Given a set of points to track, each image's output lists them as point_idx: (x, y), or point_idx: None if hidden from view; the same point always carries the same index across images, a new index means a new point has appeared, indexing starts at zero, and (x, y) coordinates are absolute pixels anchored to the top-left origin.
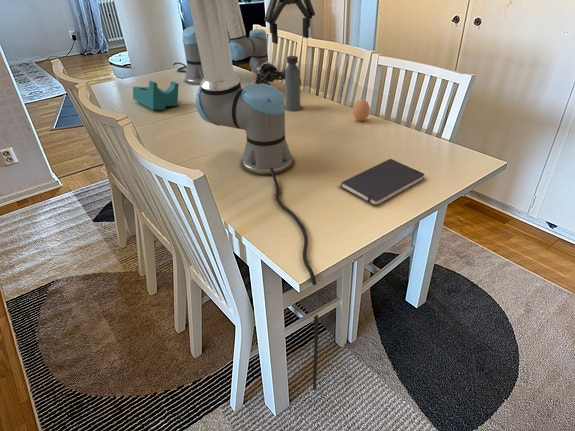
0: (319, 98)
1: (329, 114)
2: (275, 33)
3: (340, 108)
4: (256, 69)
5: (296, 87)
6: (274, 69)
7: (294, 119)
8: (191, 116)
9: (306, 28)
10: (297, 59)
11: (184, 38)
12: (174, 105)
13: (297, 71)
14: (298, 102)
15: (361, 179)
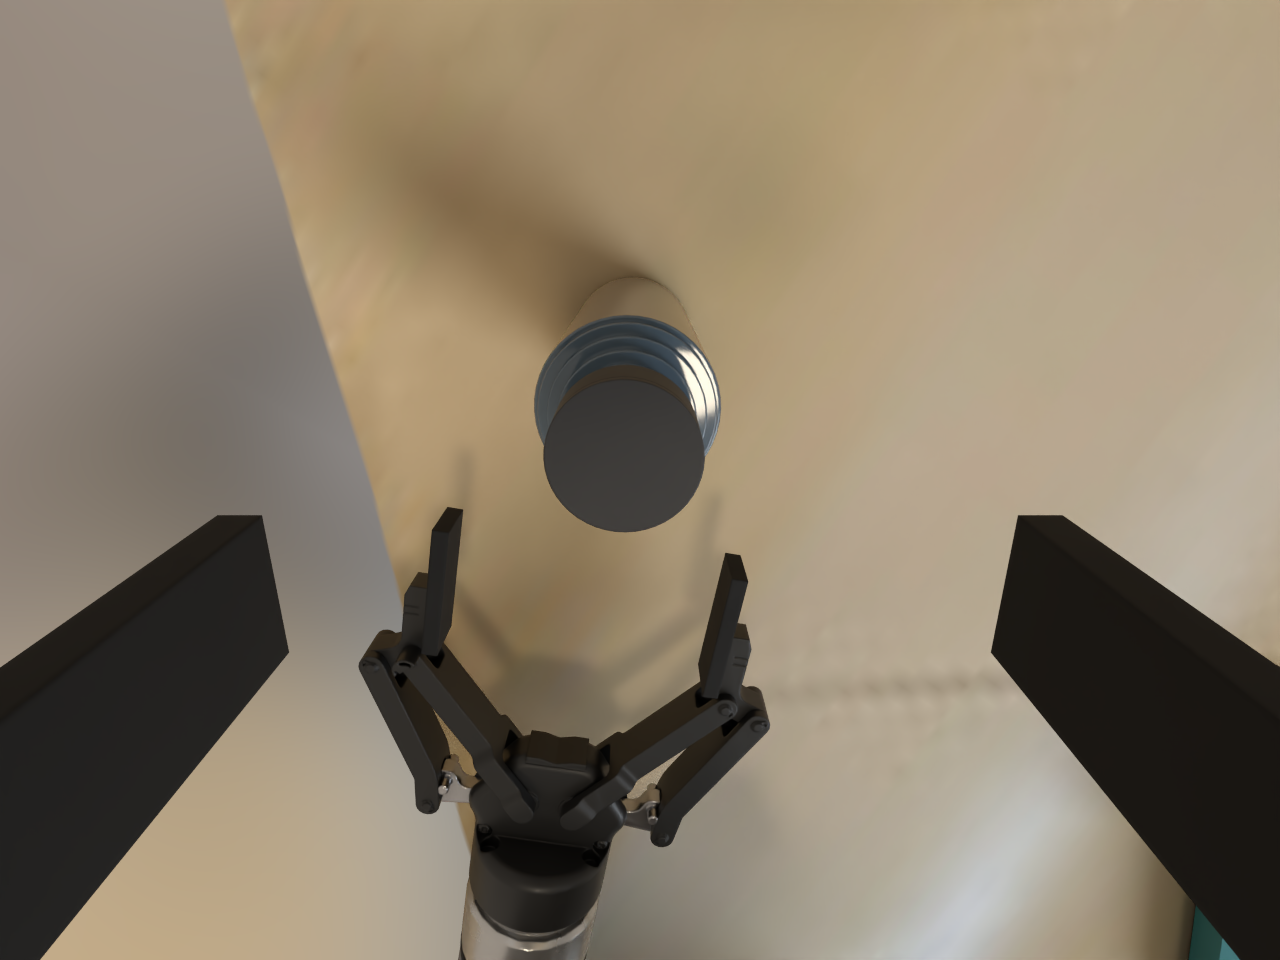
0: (344, 387)
1: (458, 21)
2: (1212, 632)
3: (301, 81)
4: (589, 942)
5: (636, 295)
6: (501, 844)
7: (761, 118)
8: (1259, 615)
9: (133, 638)
10: (574, 390)
11: None
12: None
13: (612, 322)
14: (616, 284)
15: None
